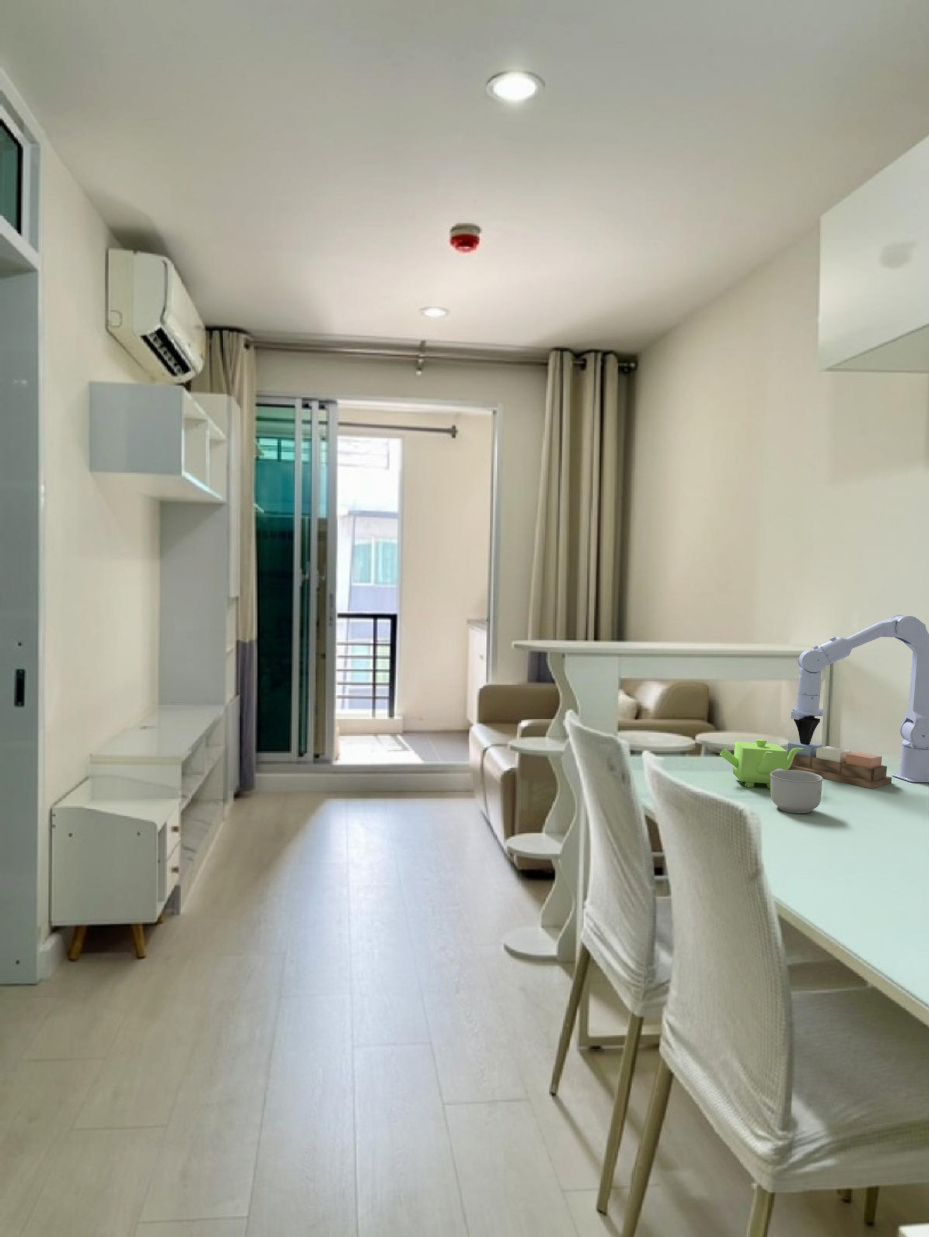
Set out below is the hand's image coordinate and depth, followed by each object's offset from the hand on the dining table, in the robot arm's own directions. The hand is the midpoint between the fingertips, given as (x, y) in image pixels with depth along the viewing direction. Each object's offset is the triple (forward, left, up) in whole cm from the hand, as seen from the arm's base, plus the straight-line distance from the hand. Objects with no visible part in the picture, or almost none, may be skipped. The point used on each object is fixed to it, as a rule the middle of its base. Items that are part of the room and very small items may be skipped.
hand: (805, 743), depth 239 cm
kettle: (+24, +18, -7) cm, 31 cm away
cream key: (-4, +7, -3) cm, 9 cm away
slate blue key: (0, 0, -3) cm, 3 cm away
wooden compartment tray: (-4, +7, -7) cm, 11 cm away
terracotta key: (-8, +14, -3) cm, 16 cm away
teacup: (+29, +39, -7) cm, 49 cm away
